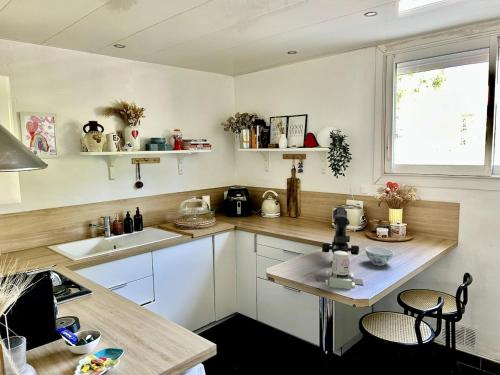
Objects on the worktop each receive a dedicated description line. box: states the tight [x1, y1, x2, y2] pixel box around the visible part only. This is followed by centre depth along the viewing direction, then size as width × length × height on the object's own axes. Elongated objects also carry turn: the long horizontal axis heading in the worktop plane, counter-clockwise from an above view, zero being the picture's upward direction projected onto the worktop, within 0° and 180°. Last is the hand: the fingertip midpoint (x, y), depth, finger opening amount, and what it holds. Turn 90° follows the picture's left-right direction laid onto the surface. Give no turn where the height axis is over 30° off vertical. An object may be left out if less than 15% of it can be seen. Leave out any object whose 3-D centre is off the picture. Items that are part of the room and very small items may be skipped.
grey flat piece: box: [316, 270, 364, 290], centre depth 183 cm, size 18×22×4 cm
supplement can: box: [331, 251, 351, 279], centre depth 180 cm, size 8×8×15 cm
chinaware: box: [365, 246, 394, 266], centre depth 210 cm, size 15×15×8 cm
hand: (339, 263), depth 190 cm, fingers closed
